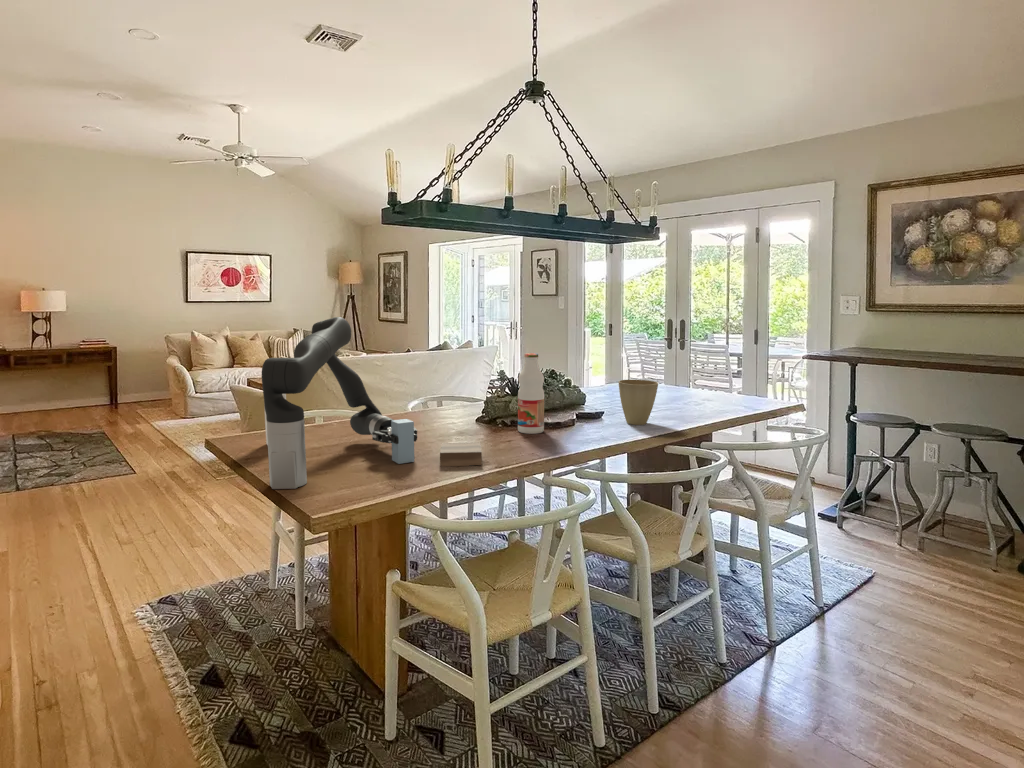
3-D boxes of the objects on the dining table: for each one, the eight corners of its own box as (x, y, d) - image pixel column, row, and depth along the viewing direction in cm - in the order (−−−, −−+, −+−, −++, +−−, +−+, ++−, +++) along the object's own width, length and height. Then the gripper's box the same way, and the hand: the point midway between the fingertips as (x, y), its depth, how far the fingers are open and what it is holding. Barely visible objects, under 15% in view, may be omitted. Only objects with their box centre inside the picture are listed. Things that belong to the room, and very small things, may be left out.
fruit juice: (548, 432, 236) (549, 354, 232) (525, 435, 232) (526, 355, 228) (535, 427, 244) (536, 352, 240) (513, 430, 240) (513, 353, 236)
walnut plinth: (481, 465, 192) (481, 452, 191) (440, 466, 191) (439, 452, 191) (480, 455, 204) (480, 442, 203) (441, 455, 203) (441, 443, 202)
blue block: (398, 463, 193) (397, 423, 191) (392, 460, 197) (391, 420, 195) (414, 461, 195) (413, 421, 194) (407, 457, 199) (406, 418, 198)
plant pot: (641, 429, 242) (642, 385, 240) (609, 422, 253) (610, 381, 251) (664, 423, 252) (666, 382, 250) (633, 417, 263) (634, 378, 261)
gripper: (362, 419, 203) (382, 429, 188) (405, 414, 210) (428, 424, 196) (362, 443, 204) (383, 455, 190) (406, 437, 211) (429, 448, 197)
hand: (406, 439), depth 193 cm, fingers closed on blue block, 5 cm apart
